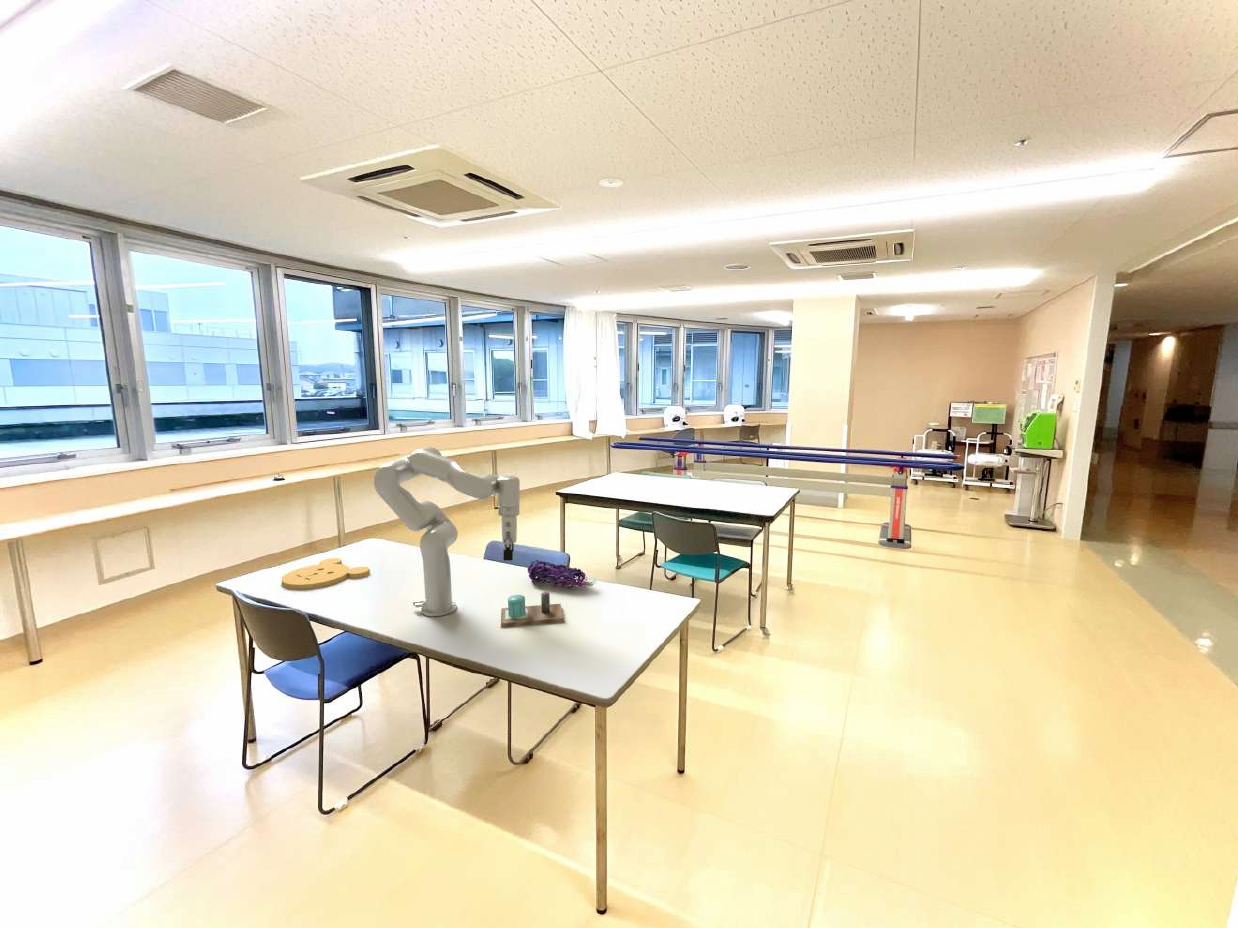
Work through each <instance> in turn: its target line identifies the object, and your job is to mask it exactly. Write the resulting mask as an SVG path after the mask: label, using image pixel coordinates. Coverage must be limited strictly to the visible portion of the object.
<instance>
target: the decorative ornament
mask: <svg viewBox="0 0 1238 928" xmlns="http://www.w3.org/2000/svg"><path fill="white" fill-rule="evenodd" d="M527 573H528V577H529V579H530V580H531V582H532V583H534V582H538V583H541V582H545V583H551V585H552V587H555V588H559V587H567V586H568V587H567V588H566V591H568V590H569V589H571V588H573V587H581V588H582V587H583V586H584V587H585V588H588V587H593V586H594V585H595V584H596V582H597V580H595V579H593V580H592V579H590V580H588V577H587V575H586V573H585V572H584V571H582V569H580V568H577V567H571V566H570V567H569V565H564V564H555V563H550V562H549V561H548V562H547V561H544V560H542V561H539V560H537V559H536V560H534V561H531V562H530V564H529V566H528V567H527ZM591 581H592V582H591Z"/></svg>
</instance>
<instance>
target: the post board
mask: <svg viewBox="0 0 1238 928" xmlns="http://www.w3.org/2000/svg"><path fill="white" fill-rule="evenodd" d="M540 595H541V596H540V599H541V600H540V601H541V604H538V605H525V615H524V616H522V617H515V618H514V617H510V616H508V607H501V609H500V628H509V627H510V628H511V627H512V628H513V627H521V626H534V625H544V624H545V625H547V624H556V623H557V624H558V623H565V616H564V614H563V608H562V604H561V603H552V604H551V602H550V601H551V599H550V597H551V596H550V592H547V591H545V592H544V591H543V592H541V593H540Z"/></svg>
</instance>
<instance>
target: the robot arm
mask: <svg viewBox="0 0 1238 928" xmlns="http://www.w3.org/2000/svg"><path fill="white" fill-rule="evenodd" d="M421 475H425V476H427V477H430V478H433V479H435V480H439V481H440V482H443V483H446V484H448V485H449V487H451V488H453V489H454V490H456V491H457V492H459V493H461V494H463V495H465V496H468V497H471V498H475V499H479V500H486V499H488V498H490V497H491V496H494V495H497V494H498V495H497V497H498V498H497V500H498V502H497V505H498V507H497V509H498V510H497V511H498V513H497V514H498V516H499V517H501V539H502V543H503V544H504V545H503V561H504V562H505V561H506V562H507V561H513V555H514V554H513V553H514V548H515V547H514V546H515V545H514V544H515V543H516V542H517V539H518V536H517V535H518V533H517V532H518V527H517V526H518V518H517V517H518V516H519V515H520V493H521V492H520V489H521V488H520V486H521V482H520V479H519V477H517V476H516V475H514V476H513V475H505V476H504V475H499V474H495V473H486V474H485V475H483V476H481V477H480V476H477V475H473V474H471V473H469V472H466V471H464V469H462V468H461V467H460V465H459V463H458V462H457V460H454V459H451V458H448V457H446V456H443V455H442V453H441V452H440V451H439V449H437V448H435V447H432V446H427V447H426V446H425V447H422V448H418V449H416V450H414V451H413V452H412V453H411V454H409V455H406V456H405V457H402V458H399V459H395V460H392V461H389V462H386V463H383V464H382V465H381V466H379V468H377V470H376V472H375V474H374V477H373V486H374V489H375V492H376V493H377V495H378V496H379V497H380V499H382V501H384V503H386V505H387V506H389V508H390V509H391V510H392V511H393V513H394V514H395V515H396V516H397V517H398V519H399V520H401V522H402V523H403V524H404V525H405V526H406V528H407V529H408V530H410V531H413V532H419V531H422V530H424V529H426V531H425V532H424V533H423V534H422V535H421V537H420V540H419V549H420V553H421V558H422V567H423V582H424V585H423V586H424V598H422V599H420V600H419V599H415V600H413V601H412V605H413V607H415V608H421V614H422V615H423V616H427V617H442V616H446V615H448V614H449V615H450V614H452V613H453V612H454V611H456V609H457V603H456V602H455V601H453V595H452V594H453V592H452V591H453V590H452V574H451V573H452V571H451V570H452V569H451V568H452V567H451V561H450V560H451V559H450V556H449V552H448V548H449V547H451V546H452V545H454V544H455V542H456V541H457V539H458V530H457V527H456V526H455V524H454V523H453V522H452V520H451V519H450V518H448V516H447V515H446V513H444V512H443V510H442V509H441V508H440V507H439V506H438V505H437V504H436V503H434V502H432V501H429V500H423V501H418V500H417V499H416V498H415V497H414V496H413V495H412V494H411V492H409V490H406V488H405V487H403V486H402V485H401V483H404V482H407V481H410V480H412V479H415V478H416V477H418V476H421Z"/></svg>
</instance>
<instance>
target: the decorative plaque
mask: <svg viewBox="0 0 1238 928" xmlns="http://www.w3.org/2000/svg"><path fill="white" fill-rule="evenodd" d="M318 563H319V564H313V565H309V566H304V567H300V568H298V569H297V568H296V569H294V570H291V571H289V572H288V573H285V574H284V575H282V577H281V586H283V588H285V589H288V590H296V591H297V590H298V591H299V590H300V591H303V590H304V591H305V590H314V589H321V588H326V587H329V586H333V585H337V584H338V583H342V582H343V581H345V580H347V579H355V580H356V579H362V578H365V577H369V576H370V574H371V569H370V567H369V566H357V567H351V568H350V566H348V565H345V564H343V563H342V559H341V558H339V557H338V558H337V557H330V558H326V559H323V560H320V561H319V562H318Z"/></svg>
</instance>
